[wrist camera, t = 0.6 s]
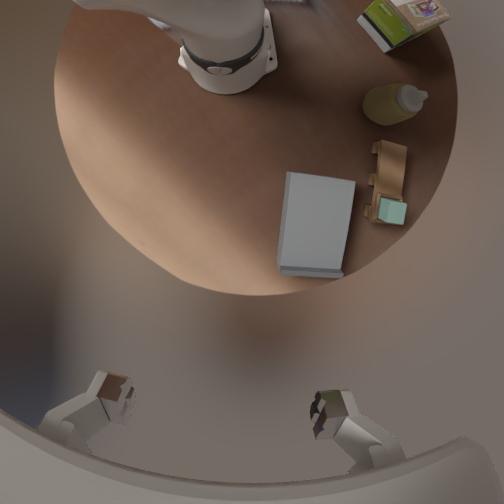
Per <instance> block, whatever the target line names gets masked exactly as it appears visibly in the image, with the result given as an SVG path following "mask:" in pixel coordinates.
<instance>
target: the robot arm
mask: <svg viewBox="0 0 504 504" xmlns="http://www.w3.org/2000/svg"><path fill="white" fill-rule="evenodd" d="M73 1H75V3H77V4H78V5H80V6H81V7H83V8H85V9H89V10H122V11H128V12H133V13H138V14H141V15H144V16H147V17H150V18H153V19H155V20H158V21H160V22H163V23H165V24H167V25H169V26H171V27H173V28H174V29H176V30H177V31H178V33H179V34H180V35H181V37H182V42H183V47H182V48H180V53H181V55H180V57H179V60H178V62H179V65H180V66H181V67H182V68H184V69H185V70H187V71H189V72H190V73H191V75H192V77H193V78H194V80H195V81H196V82H197V83H198V84H199V85H200V86H201V87H202V88H204V89H206V90H208V91H210V92H213V93H217V94H234V93H239V92H242V91H244V90H246V89H248V88H250V87H251V86H253V85H254V84H255V83H256V82H257V81H258V80H259V79H260V78H261V77H262V76H263V75H265V74H267V73H270V72H272V71H274V70H275V69H276V68H277V66H278V62H277V55H276V49H275V43H274V37H273V31H272V25H271V19H270V14H269V11H268V10H267V9H265V6H264V2H263V0H73ZM266 27H267V28H266ZM269 58H272V59H273V60H272V61H270V60H269ZM131 385H132V379H131V377H128V376H124V375H119V374H116V373H112V372H108V371H104V370H99V371H98V372H97V374H96V376H95V378H94V379H93V381H92V383H91V385H90V387H89V389H88V391H87V392H86V393H82V394H80V395H78V396H77V397H75V398H73V399H71V400H69V401H67V402H65V403H63V404H61V405H60V406H58V407H56V408H54V409H52V410H50V411H48V412H47V414H46V416H45V417H44V419H43V421H42V423H41V424H40V426H39V428H38V430H35V429H33V428H31V427H29V426H27V425H26V424H24V423H22V422H20V421H18V420H17V419H15V418H14V417H12V416H10V415H9V414H7V413H5V412H4V411H3V410H1V409H0V504H504V490H503V487H502V484H501V481H500V478H499V476H498V474H497V471H496V468H495V466H494V464H493V462H492V460H491V458H490V455H489V453H488V452H487V450H486V448H485V447H484V446H483V445H481V444H479V443H478V442H476V441H474V440H472V439H470V438H467V437H465V436H462V437H458V438H456V439H454V440H451V441H449V442H448V443H445V444H443V445H440V446H438V447H436V448H433V449H431V450H428V451H426V452H423V453H420V454H418V455H415V456H412V457H409V458H406V457H405V454H404V452H403V449H402V447H401V445H400V443H399V440H398V438H396V437H394V436H393V435H392V434H390V433H389V432H387V431H386V430H384V429H383V428H382V427H380V426H379V425H377V424H376V423H375V422H373V421H371V420H370V419H369V418H367V417H366V416H365V415H363V414H361V415H360V413H359V410H358V408H357V406H356V403H355V400H354V398H353V395H352V393H351V391H350V390H349V389H342V390H328V391H317V392H316V394H315V401H313V402H312V404H311V407H310V418H311V421H312V422H313V423H314V424H315V425H314V427H313V431H314V436H315V439H316V440H318V439H330V438H333V440H334V441H335V442H336V443H337V444H338V445H339V446H340V447H341V448H342V449H343V450H344V451H345V452H346V453H347V454H348V455H350V456H351V457H352V459H354V460H355V461H356V463H355V464H354V465H353V466H352V467H351V469H350V470H349V471H348V472H349V474H345V475H339V476H333V477H327V478H320V479H313V480H303V481H291V482H276V483H234V482H217V481H206V480H197V479H189V478H182V477H176V476H169V475H164V474H159V473H154V472H150V471H145V470H141V469H137V468H133V467H129V466H126V465H122V464H119V463H115V462H112V461H109V460H106V459H102V458H100V457H97V456H94V455H91V454H92V451H91V449H90V448H89V447H88V445H87V444H86V441H87V440H89V439H90V438H91V437H92V436H94V435H95V434H96V433H98V432H99V431H100V430H101V429H102V428H104V427H105V426H106V425H108V424H109V423H110V421H111V422H115V423H119V424H123V425H127V424H128V421H129V418H130V415H131V414H130V411H129V410H130V409H132V408H133V407H134V404H135V397H136V395H135V389H134V388H133V387H132V386H131Z"/></svg>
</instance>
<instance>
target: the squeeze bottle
mask: <svg viewBox="0 0 504 504" xmlns="http://www.w3.org/2000/svg"><path fill="white" fill-rule="evenodd" d="M427 98H428V93H427V92H426V91H419V90H418V89H417V88H416V87H414V86H412V85H406V84H404V83H393V84H388V85H383V86H379V87H375V88H373V89H371V90H369V91H368V93H367V95H366V96H365V98H364V101H363V111H364V113H365V115H366V116H367V118H369V119H370V120H371V121H373V122H375V123H377V124H380V125H383V126H389V125H393V124H396V123H398V122H401V121H404V120H407V119H410V118H412V117H413V116H415V115H416V114H417V112H418V111H419V110H420V109H421V108H422V106H423V101H424V100H425V99H427Z"/></svg>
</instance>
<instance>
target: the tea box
mask: <svg viewBox="0 0 504 504" xmlns="http://www.w3.org/2000/svg"><path fill="white" fill-rule="evenodd" d="M451 18H452V17H451V15H450V14H449V13H448V12H447V11H446V9H445V8H444V7H443V6H442V4H441V3H440V2H439V1H438V0H374V2H372V3H371V5H370V6H369V7H368V8H367V9H366V10H365V11H364V12H363V14H362V15H361V16H360V17H359V18H358V19H357V22H358V23H359V24H360V25H361V26H362V27H363V28H364V30H365V31H366V32H367V33H368V34H369V35H370V36H371V38H372V39H373V40H374V41H375V42H376V44H377V45H378V46H379V47H380V48H381V50H382V51H383V52H384V53H386V52H388V51H390V50H392V49H394V48H396V47H398V46H400V45H402V44H404V43H406V42H408V41H410V40H412V39H415V38H417V37H419V36H421V35H422V34H424V33H426V32H427V31H429V30H431V29H433V28H435V27H436V26H438V25H440V24H442V23H444V22H445V21H447V20H449V19H451Z"/></svg>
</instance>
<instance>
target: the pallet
mask: <svg viewBox="0 0 504 504" xmlns="http://www.w3.org/2000/svg"><path fill="white" fill-rule="evenodd" d="M371 153H372V154H377V155H378V160H377V169H376V174H374V173H369V176H368V184H369V185H373V186H374V191H373V198H372V204H371V205H370V204H364V210H363V215H364V216H366V217H368V218H369V220H370V221H372V222H376V223H383V224H390V225H397V226H398V224H395V223H388V222H385V221H383V220H381V219H379V218H377V214H378V208H379V202H380V197H382V198H388V199H393V200H397V201H400V202H402V201H403V197H401V194H402V187H403V180H404V172H405V164H406V154H407V147H406V146H403V145H399V144H396V143H392V142H389V141H385V140H379V141H378V142H372V149H371Z"/></svg>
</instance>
